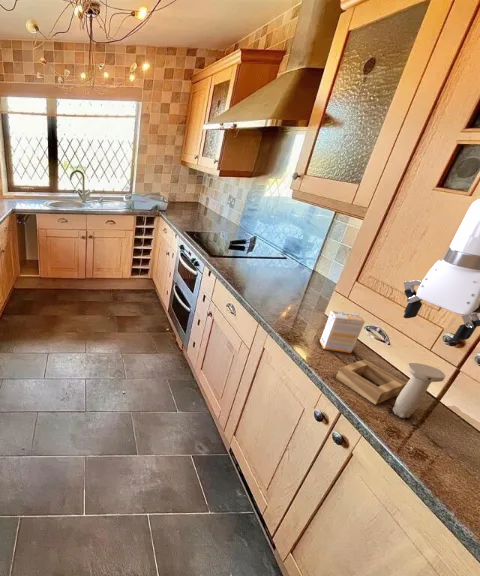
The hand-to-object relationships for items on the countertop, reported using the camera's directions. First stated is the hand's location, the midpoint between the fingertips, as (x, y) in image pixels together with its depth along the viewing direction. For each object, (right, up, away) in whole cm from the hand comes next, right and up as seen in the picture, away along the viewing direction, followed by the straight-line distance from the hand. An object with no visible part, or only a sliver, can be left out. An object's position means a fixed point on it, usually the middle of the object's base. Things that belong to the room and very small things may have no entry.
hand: (432, 327), depth 72 cm
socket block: (+1, -19, +19) cm, 27 cm away
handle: (+2, -24, +9) cm, 26 cm away
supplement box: (+4, -11, +35) cm, 37 cm away
